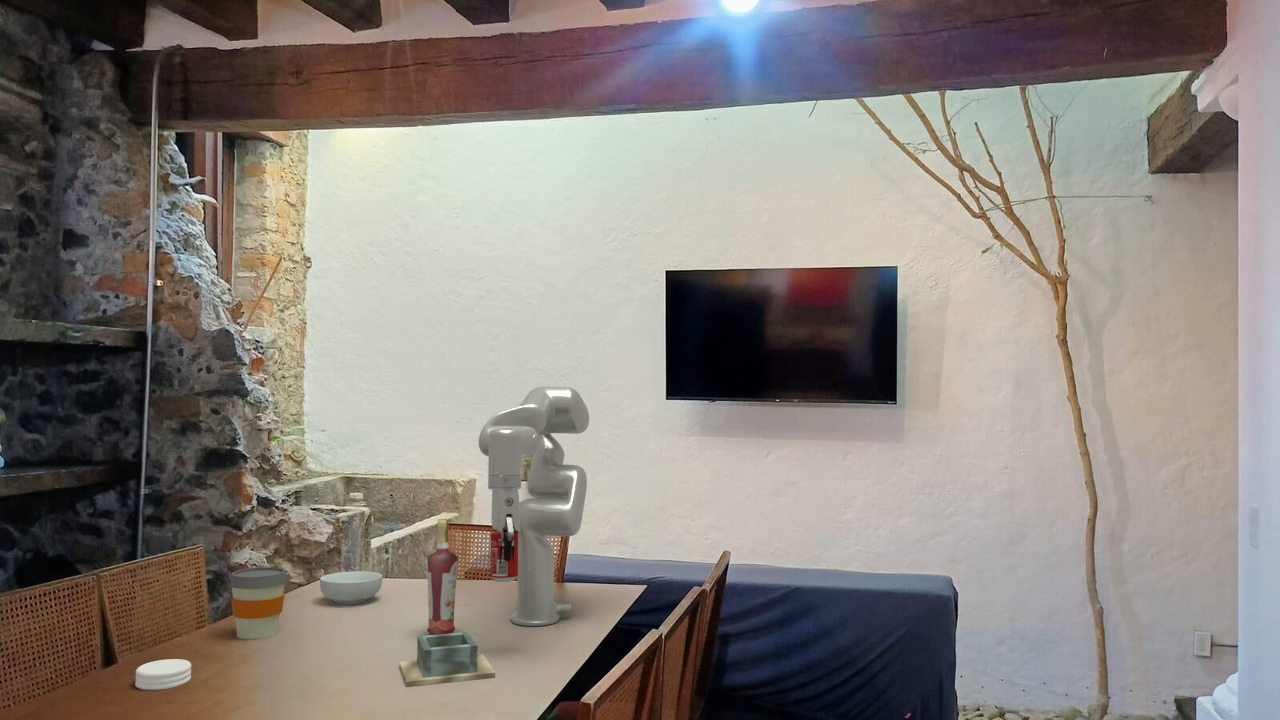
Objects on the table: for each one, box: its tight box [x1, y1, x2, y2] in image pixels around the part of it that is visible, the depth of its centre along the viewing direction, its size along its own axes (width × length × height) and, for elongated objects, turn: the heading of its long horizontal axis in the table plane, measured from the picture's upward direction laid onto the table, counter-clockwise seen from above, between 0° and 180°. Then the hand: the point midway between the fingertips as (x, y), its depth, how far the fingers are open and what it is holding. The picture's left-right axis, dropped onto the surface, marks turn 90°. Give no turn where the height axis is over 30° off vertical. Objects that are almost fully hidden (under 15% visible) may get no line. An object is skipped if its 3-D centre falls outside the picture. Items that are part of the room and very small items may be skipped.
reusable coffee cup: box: [230, 566, 287, 640], centre depth 214 cm, size 13×13×15 cm
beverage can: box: [489, 527, 518, 583], centre depth 202 cm, size 6×6×12 cm
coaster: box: [134, 658, 192, 691], centre depth 179 cm, size 10×10×4 cm
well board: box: [399, 631, 496, 688], centre depth 187 cm, size 18×14×6 cm
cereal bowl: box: [319, 570, 383, 605], centre depth 248 cm, size 17×17×7 cm
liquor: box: [426, 518, 458, 635], centre depth 215 cm, size 7×7×28 cm
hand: (503, 560), depth 202 cm, fingers closed on beverage can, 5 cm apart
